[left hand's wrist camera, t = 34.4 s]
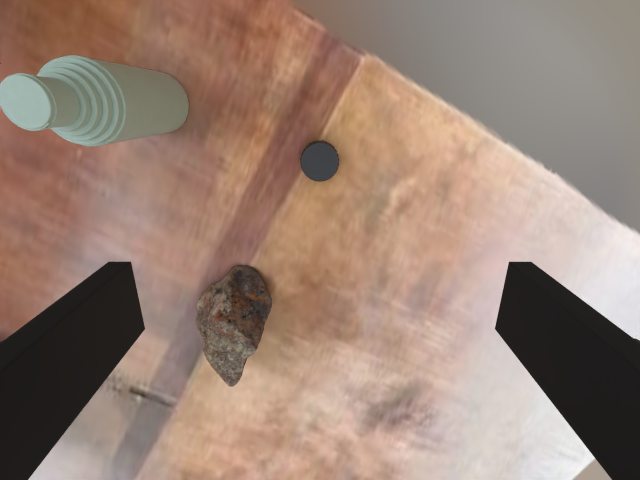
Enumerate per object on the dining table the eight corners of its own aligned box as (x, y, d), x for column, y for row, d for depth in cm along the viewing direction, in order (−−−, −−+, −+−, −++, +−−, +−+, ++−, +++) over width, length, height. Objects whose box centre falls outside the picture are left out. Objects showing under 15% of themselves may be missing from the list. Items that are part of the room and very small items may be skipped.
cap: (345, 163, 43) (346, 166, 41) (316, 184, 44) (316, 189, 42) (323, 132, 42) (323, 134, 40) (293, 155, 43) (292, 158, 41)
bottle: (118, 94, 40) (-55, 86, 22) (161, 58, 39) (16, 17, 20) (158, 143, 42) (30, 175, 24) (200, 111, 41) (100, 118, 22)
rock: (293, 291, 50) (234, 251, 48) (291, 323, 42) (220, 276, 40) (234, 362, 53) (176, 327, 51) (222, 404, 45) (153, 365, 43)
